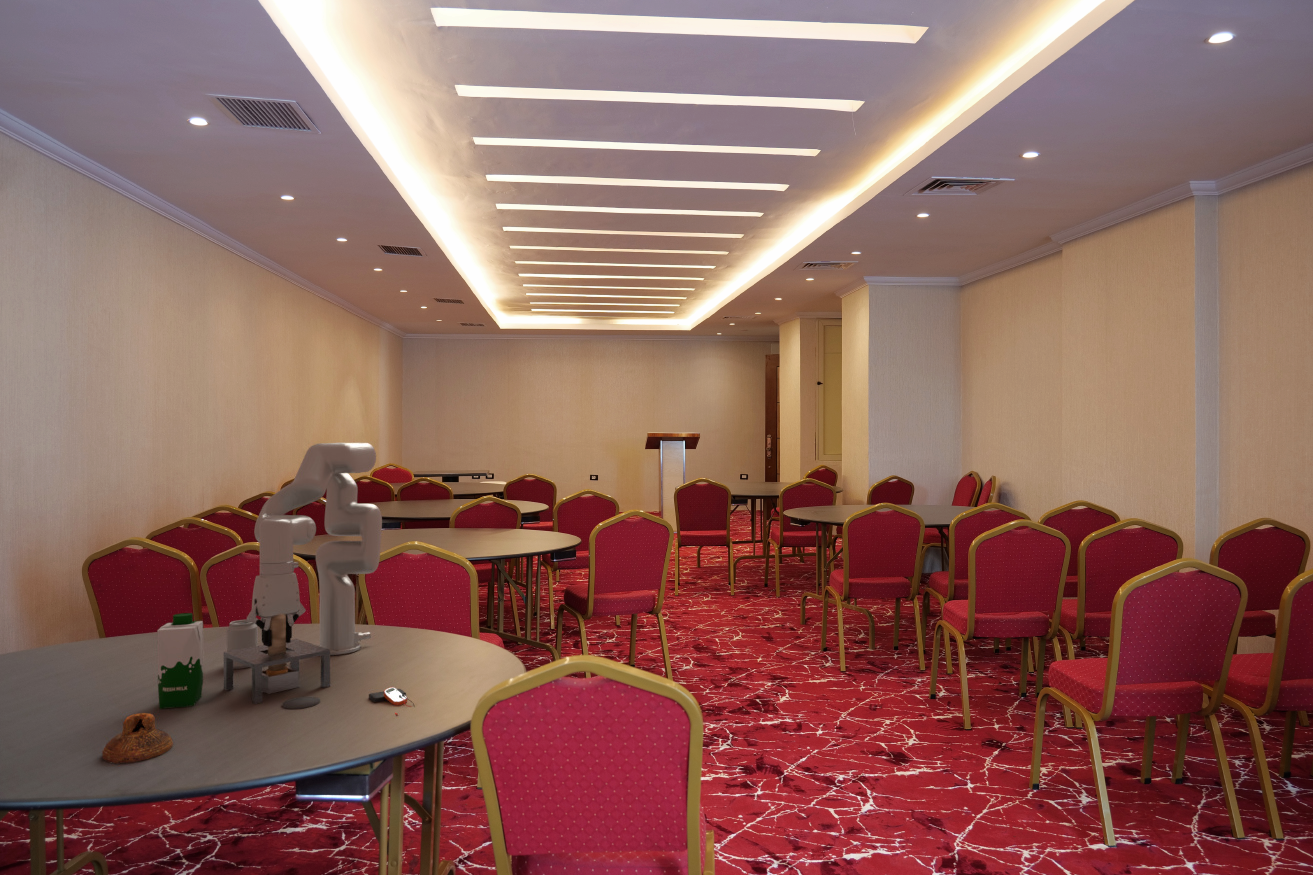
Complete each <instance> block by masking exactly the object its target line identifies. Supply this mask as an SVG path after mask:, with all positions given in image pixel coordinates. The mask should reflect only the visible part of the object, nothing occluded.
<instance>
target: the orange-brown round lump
mask: <svg viewBox="0 0 1313 875" xmlns="http://www.w3.org/2000/svg"><path fill="white" fill-rule="evenodd" d="M288 667H289V666H288ZM288 667H286V669H284V670H280V671H269V670H268V668H266V669H265V670H266V675H269V676H273V675H278V674H282V673H287V672H288Z"/></svg>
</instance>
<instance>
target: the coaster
mask: <svg viewBox="0 0 1313 875" xmlns="http://www.w3.org/2000/svg"><path fill="white" fill-rule="evenodd" d="M320 703H321V699H320V697H316V696H299V697H293V698H290V699H287V700H285V701H283V702H282V703H281V707H283V709H286V710H301V709H306V708H311V707H315V706H316V705H318V704H320Z"/></svg>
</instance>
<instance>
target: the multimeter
mask: <svg viewBox="0 0 1313 875" xmlns="http://www.w3.org/2000/svg"><path fill="white" fill-rule="evenodd" d="M368 700H370V701H371V702H372V703H374V704H378V703H383V702H388V701H389V703H391V704H392V705H394V706H402V705H404V706H407V707H410V708H411V707H414V708H415V707H416V706H415V704H414V702H413V701H412V700H410V699H409V698H408V697H407V693H406V692H405V691H404V690H403V689H401V688H395V687H394V686H391V687H388V688H385V689H384V690H383V691H377V692H371V693H369V694H368ZM408 701H410V703H411V704H412V705H413V706H412V705H407V703H408ZM394 714H395V716H399V713H397V712H394Z"/></svg>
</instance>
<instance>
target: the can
mask: <svg viewBox="0 0 1313 875" xmlns="http://www.w3.org/2000/svg"><path fill="white" fill-rule="evenodd" d="M228 625H229V626H228V627H227V628H226V652H227V651H232V650H238V649H243V648H249V647H254V646H259V645H258V644H259V643H258V635H259V634H258V630H259V627H258V626H257V625H256V624H255V623H252V622H250V621H248V620H247V619H239V620H233V621H231V622H229V624H228ZM247 668H250V667H249V666H247V665H244V664H242V663H239V662H237V661H234V660H233V670H234V669H236V670H238V669H239V670H241V669H247Z"/></svg>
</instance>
